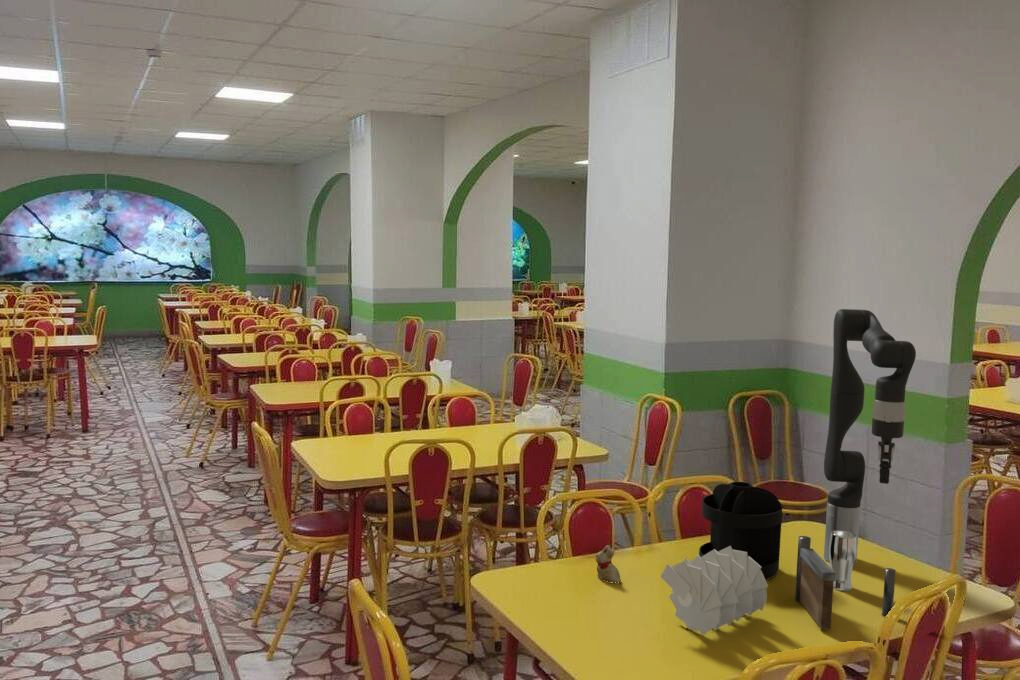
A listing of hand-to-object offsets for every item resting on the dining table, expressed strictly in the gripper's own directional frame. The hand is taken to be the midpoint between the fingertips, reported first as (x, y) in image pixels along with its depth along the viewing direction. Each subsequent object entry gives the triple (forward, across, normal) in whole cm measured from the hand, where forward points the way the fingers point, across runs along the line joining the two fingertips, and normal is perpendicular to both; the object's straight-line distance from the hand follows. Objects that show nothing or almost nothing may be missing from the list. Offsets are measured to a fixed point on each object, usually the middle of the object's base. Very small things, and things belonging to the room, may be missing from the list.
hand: (883, 479), depth 221 cm
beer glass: (+33, -7, -9) cm, 35 cm away
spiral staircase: (+33, +32, -36) cm, 59 cm away
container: (+33, -8, -37) cm, 50 cm away
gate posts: (+33, +8, -8) cm, 35 cm away
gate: (+32, +18, -14) cm, 39 cm away
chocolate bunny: (+33, +17, -68) cm, 78 cm away
